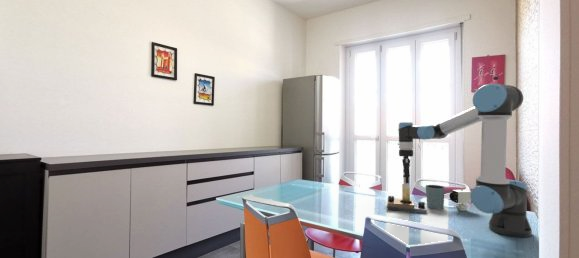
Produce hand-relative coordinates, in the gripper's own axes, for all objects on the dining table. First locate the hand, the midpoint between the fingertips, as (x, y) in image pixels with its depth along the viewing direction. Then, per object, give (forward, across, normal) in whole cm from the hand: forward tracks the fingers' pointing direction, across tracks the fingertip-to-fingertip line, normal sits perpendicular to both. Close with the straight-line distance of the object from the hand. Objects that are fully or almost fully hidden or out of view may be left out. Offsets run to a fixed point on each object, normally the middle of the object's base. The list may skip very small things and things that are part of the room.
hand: (406, 186), depth 159 cm
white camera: (+13, -8, +29) cm, 33 cm away
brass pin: (+13, 0, 0) cm, 13 cm away
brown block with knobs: (+13, 0, 0) cm, 13 cm away
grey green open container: (+13, -10, +16) cm, 23 cm away
